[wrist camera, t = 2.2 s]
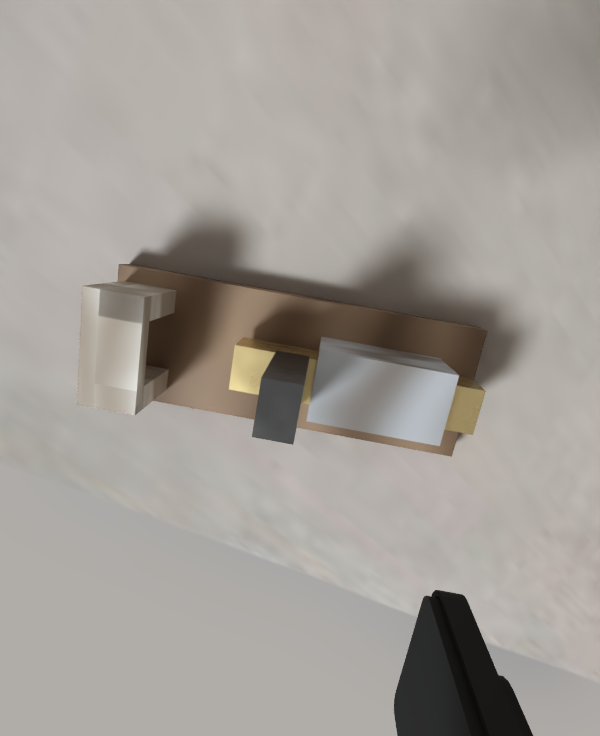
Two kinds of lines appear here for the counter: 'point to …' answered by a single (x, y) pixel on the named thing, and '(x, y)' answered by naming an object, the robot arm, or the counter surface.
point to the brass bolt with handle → (295, 382)
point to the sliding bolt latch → (280, 325)
